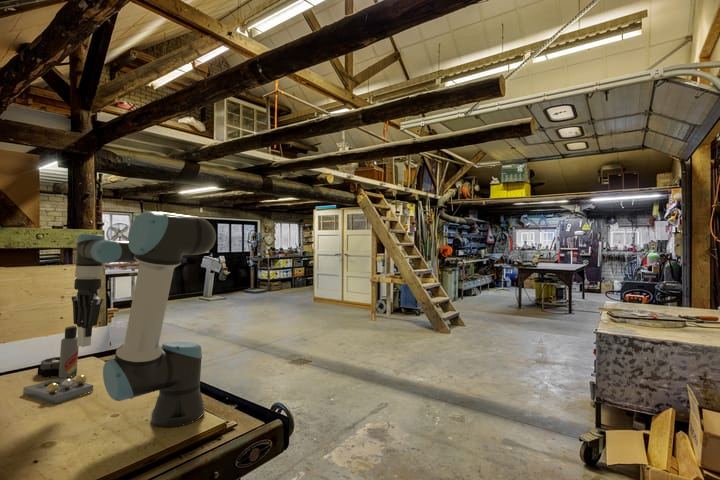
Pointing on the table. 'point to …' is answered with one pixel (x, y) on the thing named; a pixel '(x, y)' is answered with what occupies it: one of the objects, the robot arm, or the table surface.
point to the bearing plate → (61, 394)
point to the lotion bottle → (69, 353)
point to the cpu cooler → (49, 367)
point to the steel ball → (67, 383)
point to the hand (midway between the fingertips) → (83, 345)
